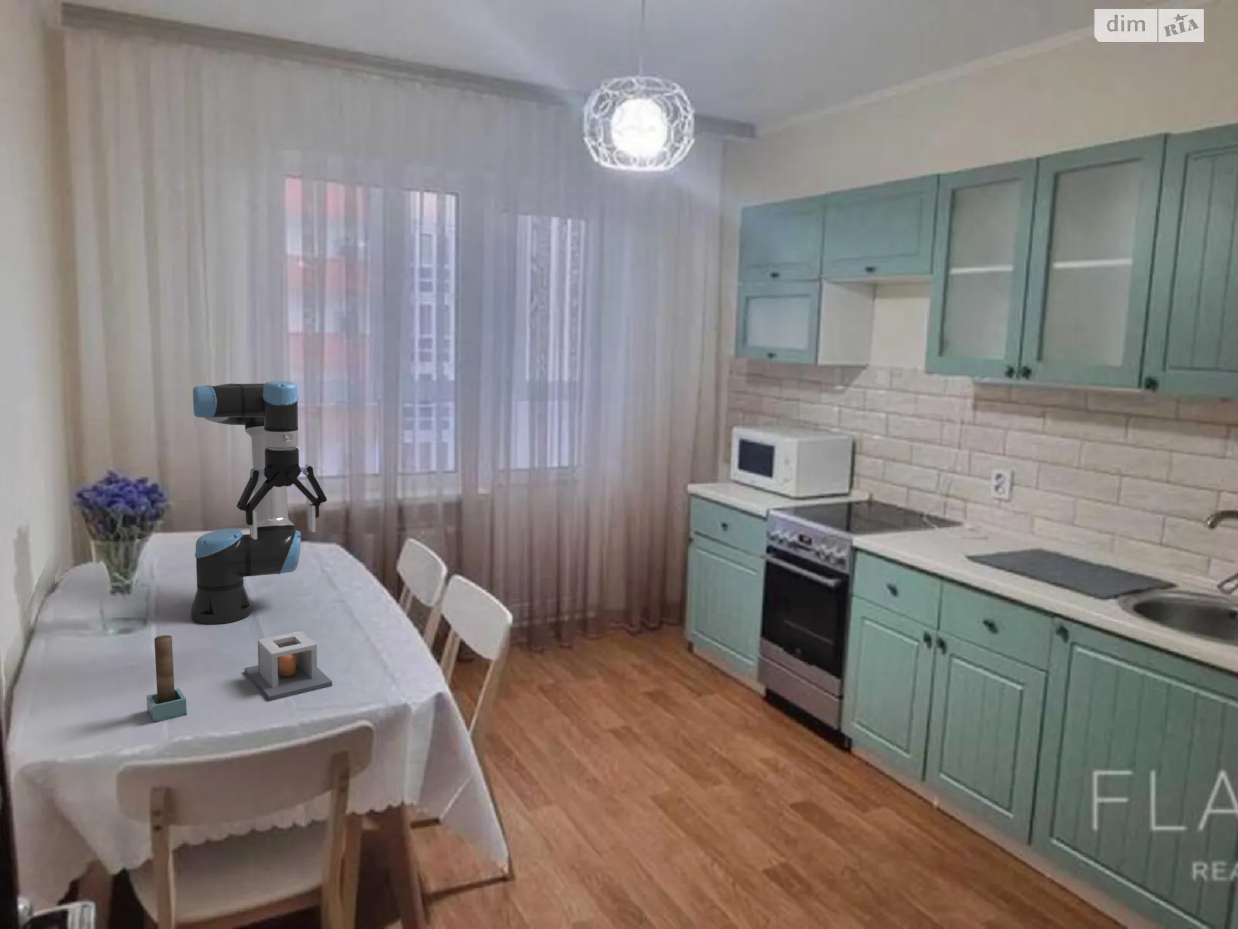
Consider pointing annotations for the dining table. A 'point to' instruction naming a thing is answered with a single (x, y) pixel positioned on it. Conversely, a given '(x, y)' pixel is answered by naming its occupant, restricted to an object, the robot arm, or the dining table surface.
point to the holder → (166, 707)
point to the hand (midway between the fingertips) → (283, 534)
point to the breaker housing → (268, 666)
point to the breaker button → (287, 665)
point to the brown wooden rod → (164, 669)
